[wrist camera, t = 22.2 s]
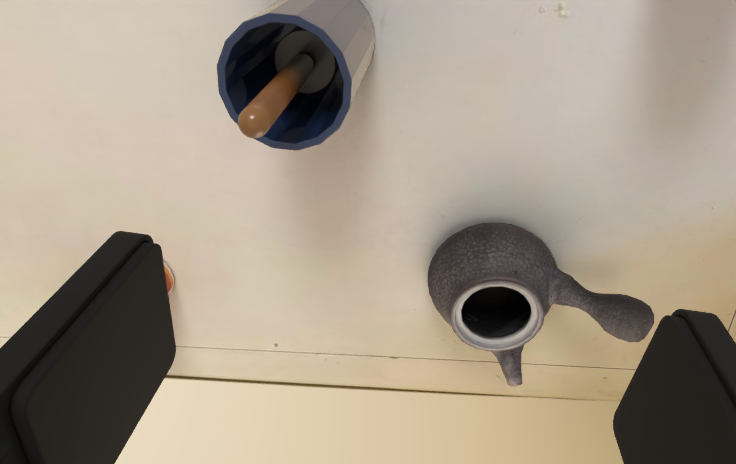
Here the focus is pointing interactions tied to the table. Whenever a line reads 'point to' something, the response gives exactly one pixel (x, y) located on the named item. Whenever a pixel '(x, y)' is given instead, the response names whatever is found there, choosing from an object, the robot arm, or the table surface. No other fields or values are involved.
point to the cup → (257, 68)
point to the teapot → (516, 293)
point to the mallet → (289, 79)
